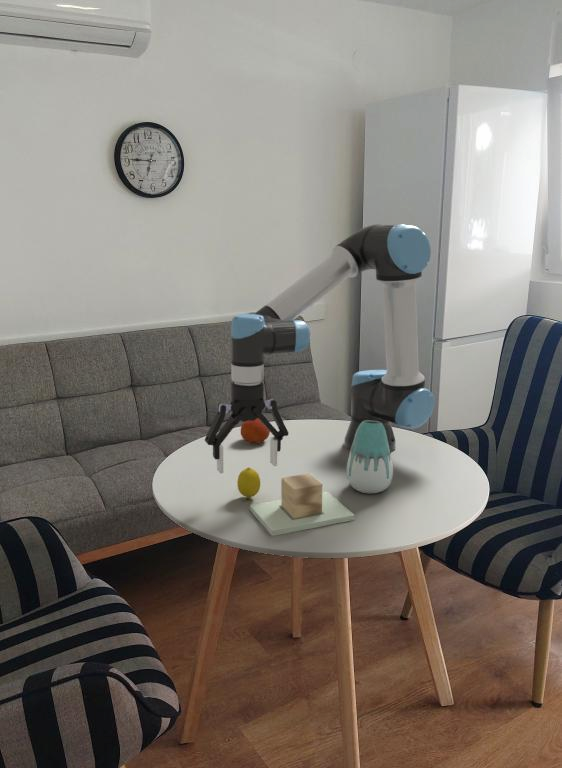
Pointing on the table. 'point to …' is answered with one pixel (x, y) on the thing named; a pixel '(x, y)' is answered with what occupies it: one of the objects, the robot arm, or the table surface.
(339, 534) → the table surface
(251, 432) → the fruit
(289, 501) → the oak cube
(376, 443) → the vase
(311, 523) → the board
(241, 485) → the lemon
